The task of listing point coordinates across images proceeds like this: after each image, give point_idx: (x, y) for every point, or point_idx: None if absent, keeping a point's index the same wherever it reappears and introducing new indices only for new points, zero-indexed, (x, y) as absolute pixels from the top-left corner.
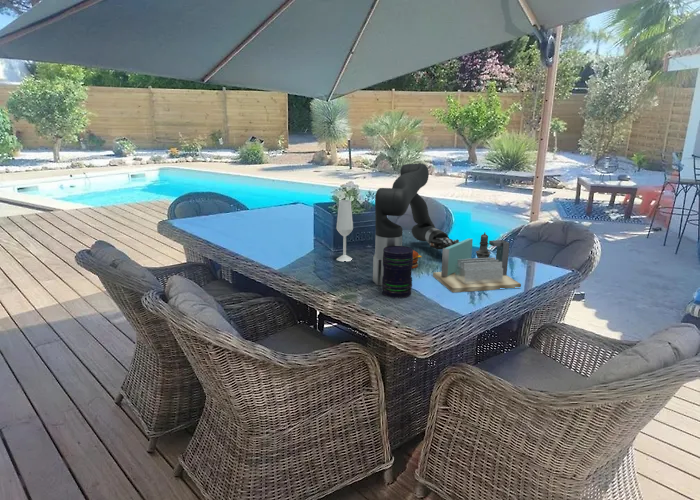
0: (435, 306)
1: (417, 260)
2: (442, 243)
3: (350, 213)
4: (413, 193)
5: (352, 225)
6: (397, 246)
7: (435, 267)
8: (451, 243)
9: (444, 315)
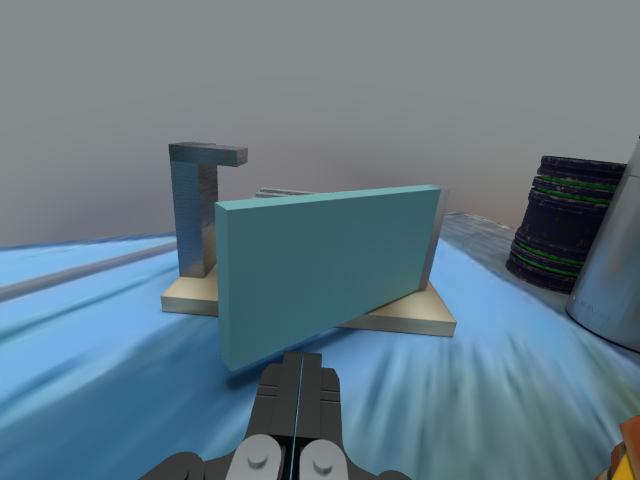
0: (446, 235)
1: (612, 473)
2: (393, 472)
3: None
4: None
5: None
6: (615, 166)
7: (434, 458)
8: (260, 435)
9: None
